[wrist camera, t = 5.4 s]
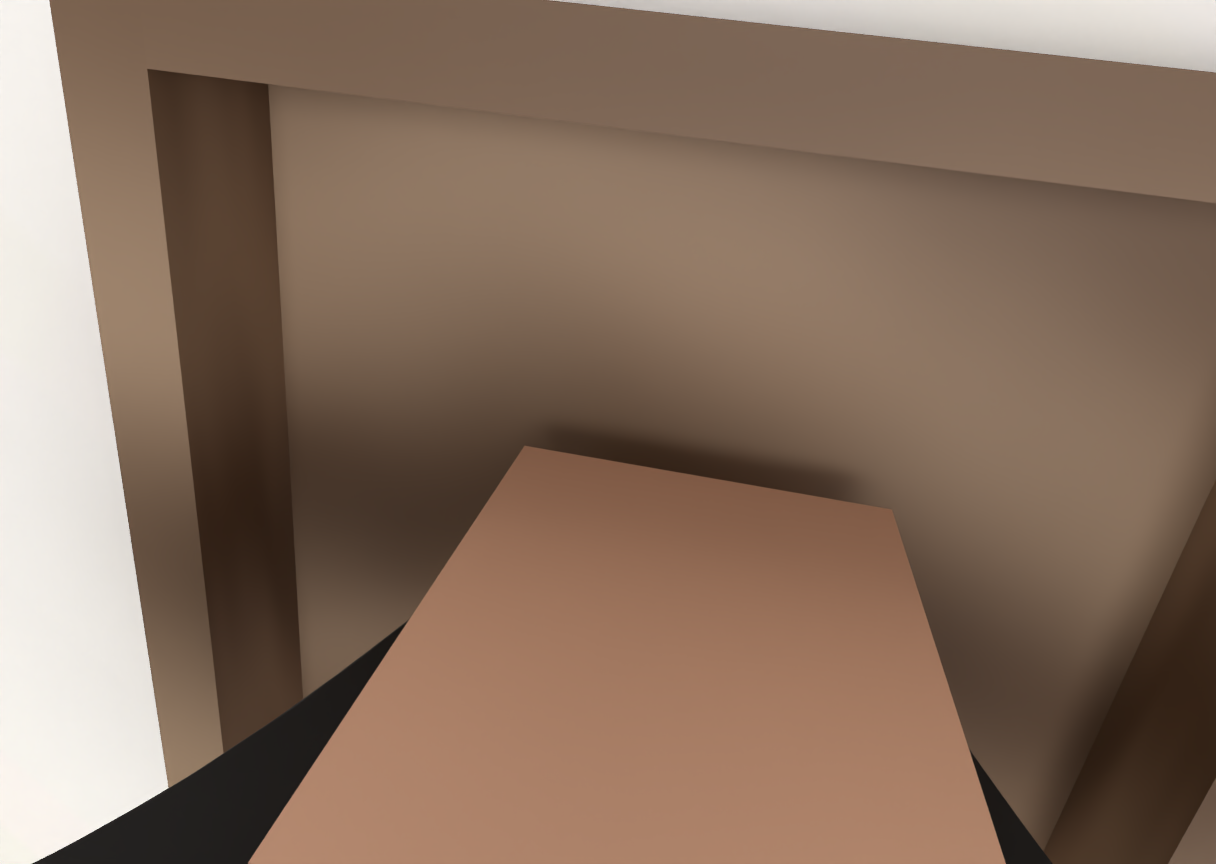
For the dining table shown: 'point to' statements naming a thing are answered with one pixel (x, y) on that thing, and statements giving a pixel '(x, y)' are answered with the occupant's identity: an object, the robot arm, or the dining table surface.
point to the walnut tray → (665, 341)
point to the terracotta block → (652, 691)
